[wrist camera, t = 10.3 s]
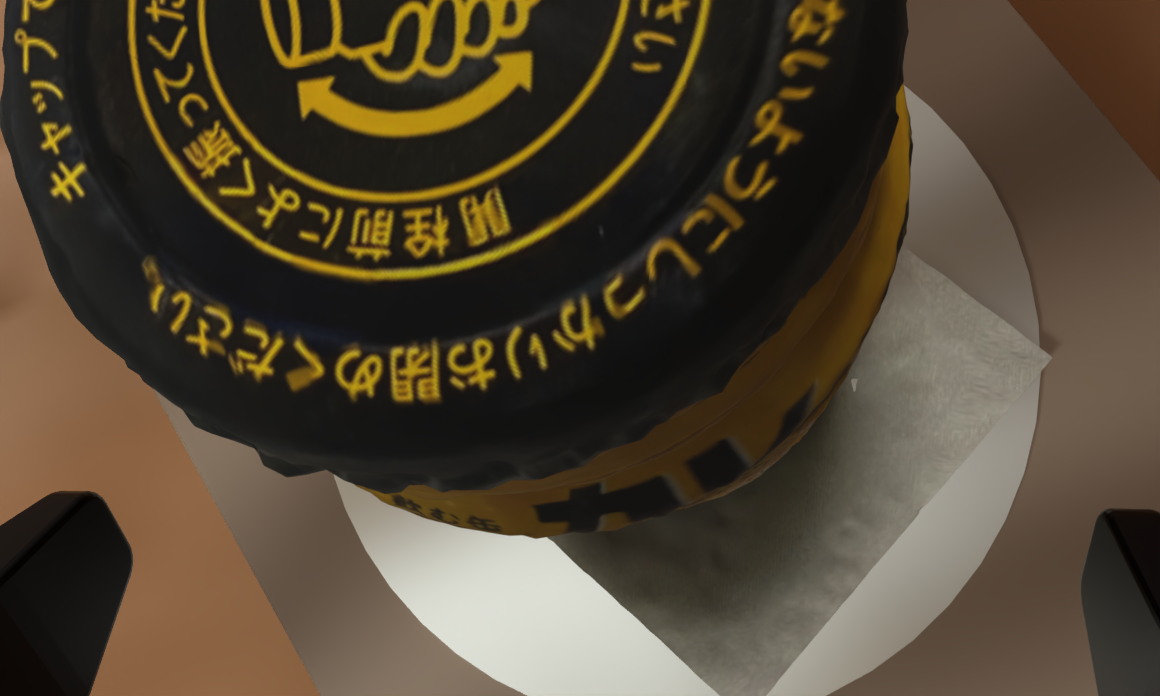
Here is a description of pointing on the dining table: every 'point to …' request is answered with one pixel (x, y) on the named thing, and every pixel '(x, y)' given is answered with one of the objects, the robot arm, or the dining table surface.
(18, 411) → the dining table surface
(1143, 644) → the robot arm
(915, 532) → the grey flat square slab
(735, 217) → the condiment
